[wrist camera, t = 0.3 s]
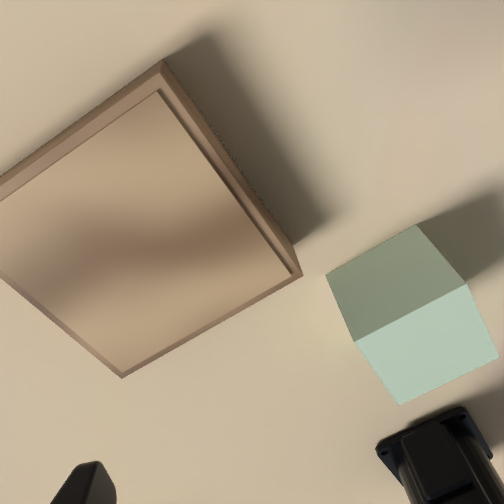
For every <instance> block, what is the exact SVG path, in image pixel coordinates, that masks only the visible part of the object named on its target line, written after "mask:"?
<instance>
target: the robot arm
mask: <svg viewBox="0 0 504 504" xmlns="http://www.w3.org/2000/svg"><path fill="white" fill-rule="evenodd" d="M375 450H376V452H377V455H378V457H379V458H380V459H381V460H382V462H383V463H384V464H385V465H386V466H387V468H388V469H389V470H390V471H391V472H392V474H393V475H394V476H395V477H396V478H397V480H398V481H399V482H400V483H401V484H402V486H403V487H404V488H405V491H406V493H407V496H408V498H409V501H410V503H411V504H504V483H503V482H502V480H501V478H500V477H499V475H498V473H497V472H496V470H495V468H494V467H493V465H492V463H491V462H490V460H491V459H492V458H493V454H492V452H491V451H490V449H489V447H488V445H487V444H486V442H485V440H484V438H483V437H482V435H481V433H480V431H479V430H478V428H477V426H476V424H475V423H474V421H473V419H472V417H471V416H470V414H469V412H468V411H467V409H466V408H465V407H458V408H456V409H454V410H451V411H449V412H447V413H445V414H443V415H441V416H439V417H436V418H434V419H432V420H430V421H428V422H426V423H424V424H421V425H419V426H417V427H415V428H413V429H411V430H409V431H406V432H404V433H402V434H400V435H398V436H396V437H394V438H391V439H389V440H387V441H385V442H383V443H381V444H379V445H377V446H376V448H375ZM116 501H117V497H116V489H115V486H114V484H113V482H112V480H111V478H110V477H109V475H108V473H107V471H106V469H105V468H104V466H103V464H102V463H101V462H99V461H93V462H88V463H83V464H80V465H78V466H76V467H75V468H74V470H73V471H72V472H71V474H70V475H69V477H68V478H67V480H66V481H65V483H64V484H63V486H62V487H61V489H60V490H59V491H58V493H57V494H56V496H55V497H54V499H53V500H52V502H51V503H50V504H116Z"/></svg>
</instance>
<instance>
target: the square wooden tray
mask: <svg viewBox="0 0 504 504" xmlns="http://www.w3.org/2000/svg"><path fill="white" fill-rule="evenodd" d="M302 276H303V273H302V270H301V267H300V265H299V262H298V259H297V256H296V254H295V251H294V248H293V246H292V244H291V243H290V241H289V240H288V238H287V237H286V236H285V234H284V233H283V231H282V230H281V228H280V227H279V225H278V224H277V223H276V221H275V220H274V218H273V217H272V215H271V214H270V213H269V211H268V210H267V208H266V207H265V205H264V204H263V202H262V201H261V200H260V198H259V197H258V195H257V194H256V192H255V191H254V190H253V188H252V187H251V185H250V184H249V182H248V181H247V179H246V178H245V177H244V175H243V174H242V172H241V171H240V169H239V168H238V166H237V165H236V164H235V162H234V161H233V159H232V158H231V156H230V155H229V154H228V152H227V151H226V149H225V148H224V146H223V145H222V143H221V142H220V141H219V139H218V138H217V136H216V135H215V133H214V132H213V130H212V129H211V128H210V126H209V125H208V123H207V122H206V120H205V119H204V118H203V116H202V115H201V113H200V112H199V110H198V109H197V107H196V106H195V105H194V103H193V102H192V100H191V99H190V97H189V96H188V94H187V93H186V92H185V90H184V89H183V87H182V86H181V84H180V83H179V82H178V80H177V79H176V77H175V76H174V74H173V73H172V71H171V70H170V69H169V67H168V66H167V64H166V63H165V61H164V60H163V59H162V60H161V61H159V62H158V63H157V64H155V65H154V66H153V67H151V68H150V69H148V70H147V71H146V72H144V73H143V74H141V75H140V76H139V77H137V78H136V79H135V80H133V81H132V82H130V83H129V84H128V85H126V86H125V87H123V88H122V89H121V90H119V91H118V92H117V93H115V94H114V95H112V96H111V97H110V98H108V99H107V100H105V101H104V102H103V103H101V104H100V105H99V106H97V107H96V108H94V109H93V110H92V111H90V112H89V113H88V114H86V115H85V116H83V117H82V118H81V119H79V120H78V121H76V122H75V123H74V124H72V125H71V126H70V127H68V128H67V129H65V130H64V131H63V132H61V133H60V134H58V135H57V136H56V137H54V138H53V139H52V140H50V141H49V142H47V143H46V144H45V145H43V146H42V147H40V148H39V149H38V150H36V151H35V152H34V153H32V154H31V155H29V156H28V157H27V158H25V159H24V160H22V161H21V162H20V163H18V164H17V165H16V166H14V167H13V168H11V169H10V170H9V171H7V172H6V173H5V174H3V175H2V176H0V278H1V279H3V280H4V281H5V282H6V283H7V284H9V285H10V286H11V287H12V288H13V289H15V290H16V291H17V292H18V293H19V294H21V295H22V296H23V297H24V298H25V299H27V300H28V301H29V302H30V303H31V304H32V305H34V306H35V307H36V308H37V309H38V310H40V311H41V312H42V313H43V314H44V315H46V316H47V317H48V318H49V319H50V320H52V321H53V322H54V323H55V324H56V325H58V326H59V327H60V328H61V329H62V330H64V331H65V332H66V333H67V334H68V335H70V336H71V337H72V338H73V339H74V340H76V341H77V342H78V343H79V344H80V345H82V346H83V347H84V348H85V349H86V350H88V351H89V352H90V353H91V354H92V355H94V356H95V357H96V358H97V359H98V360H100V361H101V362H102V363H103V364H104V365H106V366H107V367H108V368H109V369H110V370H112V371H113V372H114V373H115V374H116V375H118V376H119V377H120V378H121V379H122V378H124V377H126V376H127V375H129V374H131V373H133V372H135V371H136V370H138V369H140V368H142V367H143V366H145V365H147V364H149V363H150V362H152V361H154V360H156V359H157V358H159V357H161V356H163V355H165V354H166V353H168V352H170V351H172V350H173V349H175V348H177V347H179V346H180V345H182V344H184V343H186V342H187V341H189V340H191V339H193V338H195V337H196V336H198V335H200V334H202V333H203V332H205V331H207V330H209V329H210V328H212V327H214V326H216V325H217V324H219V323H221V322H223V321H225V320H226V319H228V318H230V317H232V316H233V315H235V314H237V313H239V312H240V311H242V310H244V309H246V308H247V307H249V306H251V305H253V304H255V303H256V302H258V301H260V300H262V299H263V298H265V297H267V296H269V295H270V294H272V293H274V292H276V291H277V290H279V289H281V288H283V287H285V286H286V285H288V284H290V283H292V282H293V281H295V280H297V279H299V278H300V277H302Z"/></svg>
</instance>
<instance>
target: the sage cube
mask: <svg viewBox="0 0 504 504" xmlns="http://www.w3.org/2000/svg"><path fill="white" fill-rule="evenodd" d="M325 276H326V278H327V281H328V283H329V285H330V288H331V290H332V292H333V295H334V297H335V299H336V302H337V304H338V306H339V309H340V311H341V313H342V316H343V318H344V320H345V323H346V325H347V327H348V329H349V332H350V334H351V336H352V339H353V341H354V343H355V344H356V346H357V347H358V349H359V350H360V352H361V353H362V354H363V356H364V357H365V359H366V360H367V361H368V363H369V364H370V366H371V367H372V369H373V370H374V371H375V373H376V374H377V376H378V377H379V378H380V380H381V381H382V383H383V384H384V386H385V387H386V388H387V390H388V391H389V393H390V394H391V395H392V397H393V398H394V400H395V401H396V403H397V404H398V405H401V404H403V403H405V402H408V401H410V400H412V399H414V398H416V397H418V396H420V395H422V394H424V393H426V392H428V391H430V390H433V389H435V388H437V387H439V386H441V385H443V384H445V383H447V382H449V381H451V380H453V379H455V378H458V377H460V376H462V375H464V374H466V373H468V372H470V371H472V370H474V369H476V368H478V367H480V366H483V365H485V364H487V363H489V362H491V361H493V360H495V359H497V358H499V357H500V356H499V354H498V351H497V349H496V347H495V345H494V343H493V340H492V338H491V336H490V334H489V332H488V329H487V327H486V325H485V323H484V321H483V319H482V316H481V314H480V312H479V310H478V308H477V305H476V303H475V301H474V299H473V297H472V294H471V292H470V290H469V288H468V286H467V284H466V282H465V281H464V280H463V279H462V278H461V276H460V275H459V274H458V273H457V272H456V271H455V269H454V268H453V267H452V266H451V265H450V264H449V262H448V261H447V260H446V259H445V258H444V257H443V255H442V254H441V253H440V252H439V251H438V250H437V248H436V247H435V246H434V245H433V244H432V243H431V241H430V240H429V239H428V238H427V237H426V236H425V234H424V233H423V232H422V231H421V230H420V229H419V227H418V226H417V225H416V224H415V225H414V226H412V227H410V228H408V229H407V230H405V231H403V232H401V233H399V234H398V235H396V236H394V237H392V238H390V239H389V240H387V241H385V242H383V243H382V244H380V245H378V246H376V247H374V248H373V249H371V250H369V251H367V252H366V253H364V254H362V255H360V256H358V257H357V258H355V259H353V260H351V261H349V262H348V263H346V264H344V265H342V266H341V267H339V268H337V269H335V270H333V271H332V272H330V273H328V274H326V275H325Z"/></svg>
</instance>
